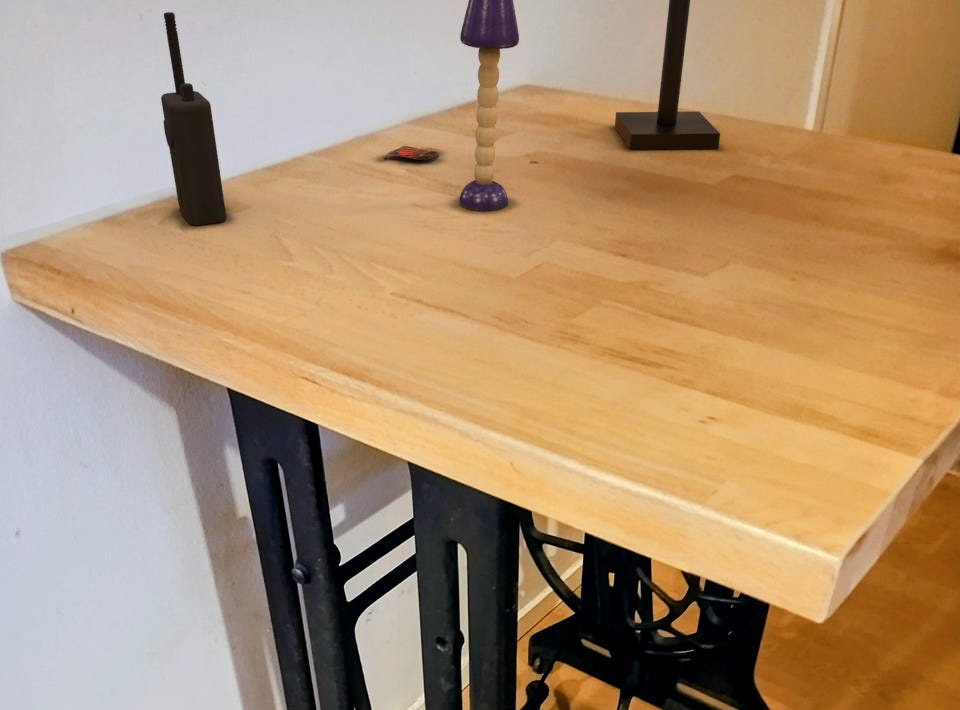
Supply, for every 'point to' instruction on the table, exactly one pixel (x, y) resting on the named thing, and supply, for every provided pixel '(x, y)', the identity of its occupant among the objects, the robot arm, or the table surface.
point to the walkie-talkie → (191, 143)
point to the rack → (669, 101)
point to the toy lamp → (487, 94)
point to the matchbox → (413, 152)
